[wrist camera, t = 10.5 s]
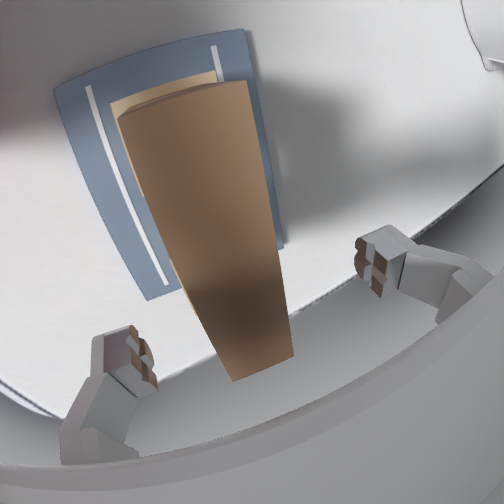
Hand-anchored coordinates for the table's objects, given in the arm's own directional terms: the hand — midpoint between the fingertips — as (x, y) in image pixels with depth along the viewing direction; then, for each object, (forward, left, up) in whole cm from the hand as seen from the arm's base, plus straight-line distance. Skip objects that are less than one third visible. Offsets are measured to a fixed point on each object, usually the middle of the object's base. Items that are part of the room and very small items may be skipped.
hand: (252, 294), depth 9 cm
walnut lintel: (0, 0, -7) cm, 7 cm away
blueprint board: (0, 0, -15) cm, 15 cm away
